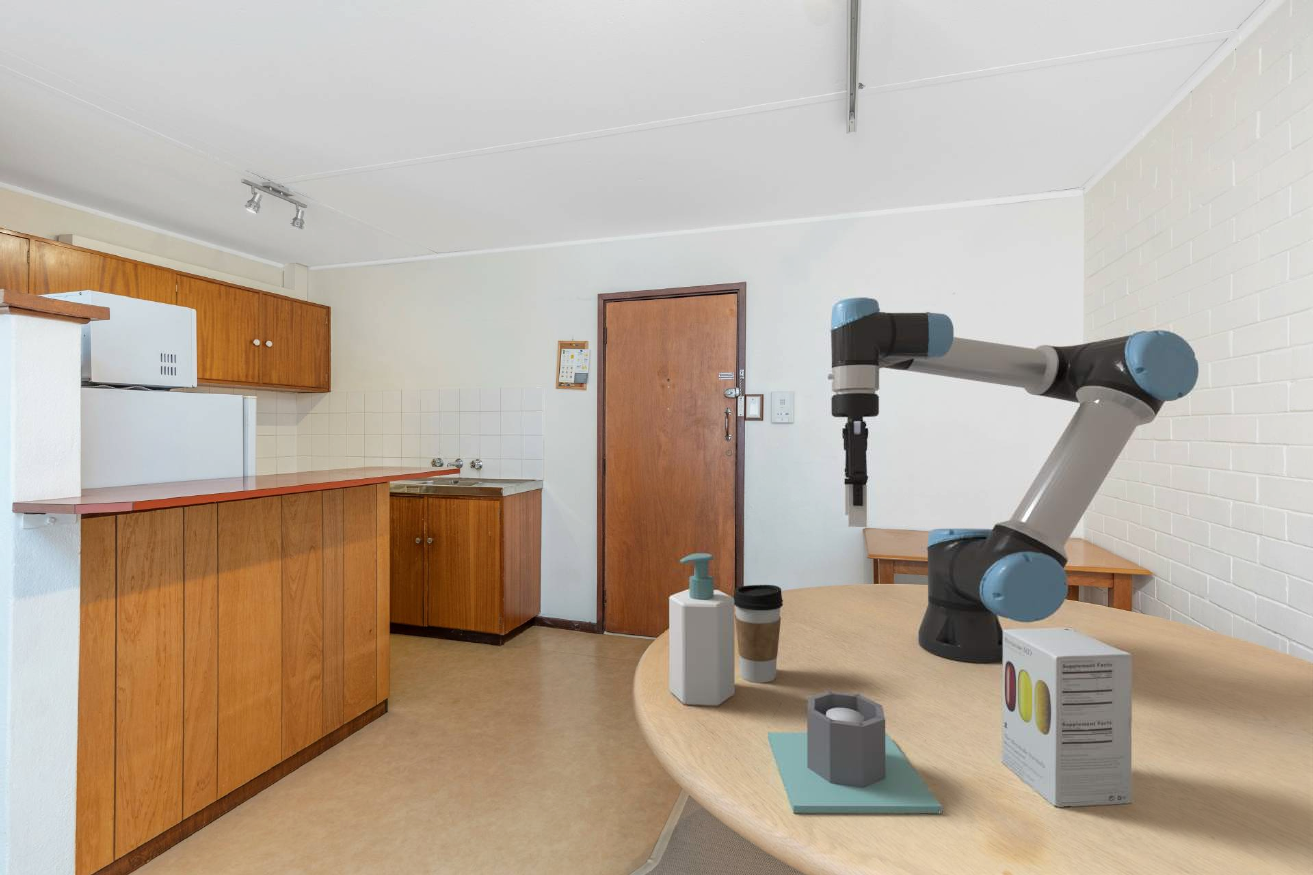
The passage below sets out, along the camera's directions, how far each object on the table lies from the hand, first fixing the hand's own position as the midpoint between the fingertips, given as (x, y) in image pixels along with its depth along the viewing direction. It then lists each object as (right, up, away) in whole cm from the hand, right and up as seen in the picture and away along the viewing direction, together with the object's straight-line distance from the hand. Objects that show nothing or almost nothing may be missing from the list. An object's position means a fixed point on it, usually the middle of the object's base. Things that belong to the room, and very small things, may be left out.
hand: (855, 520), depth 99 cm
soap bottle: (-26, -27, -5) cm, 38 cm away
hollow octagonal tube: (-10, -26, -27) cm, 39 cm away
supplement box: (+15, -27, -29) cm, 42 cm away
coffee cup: (-16, -27, +2) cm, 31 cm away
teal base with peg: (-10, -27, -27) cm, 39 cm away
